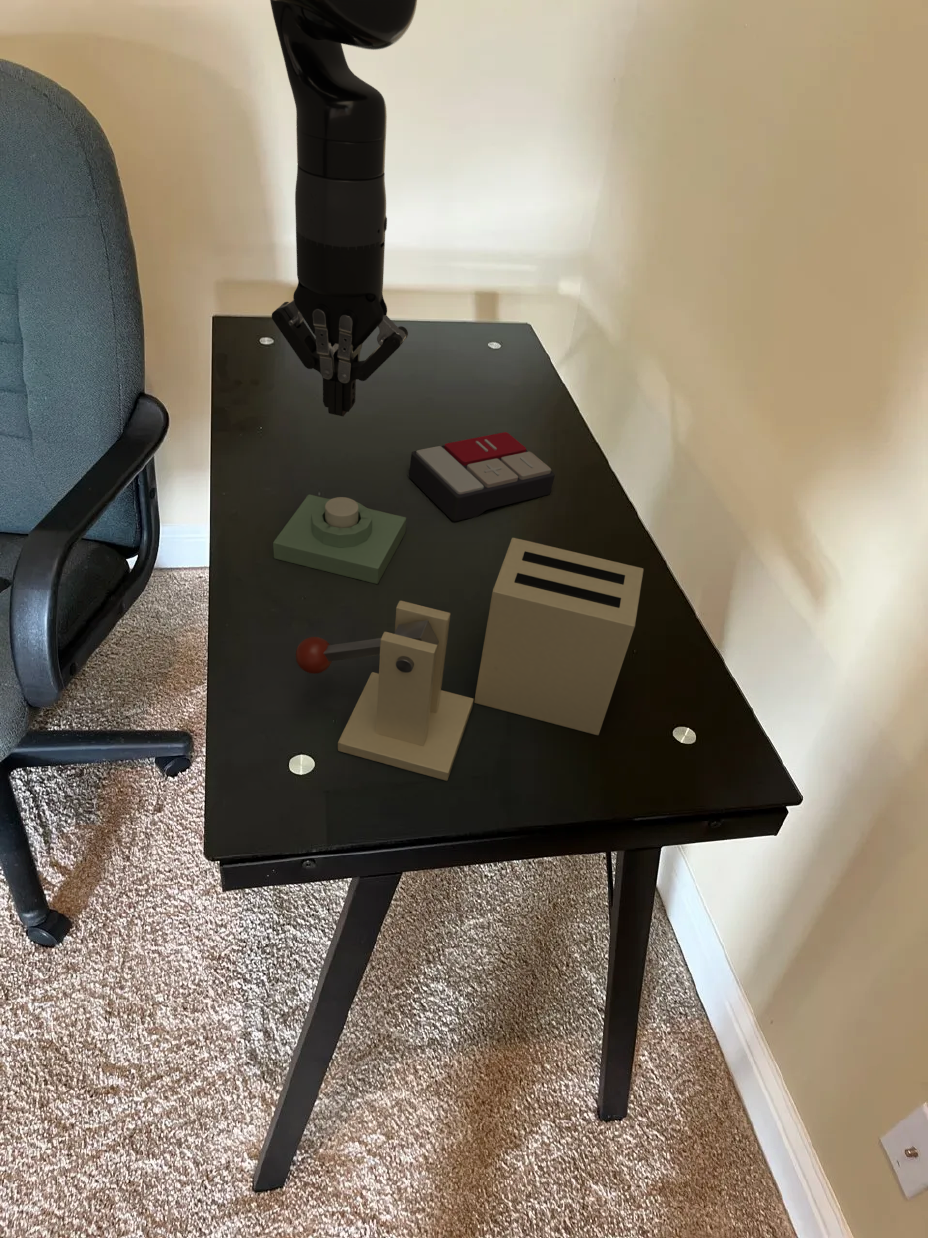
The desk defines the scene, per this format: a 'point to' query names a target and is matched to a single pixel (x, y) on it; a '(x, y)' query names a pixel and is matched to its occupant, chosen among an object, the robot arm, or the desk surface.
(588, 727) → the toaster
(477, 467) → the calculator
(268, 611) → the desk surface
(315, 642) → the red-knobbed metal lever
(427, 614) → the lever bracket
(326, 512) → the button
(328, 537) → the switch block
